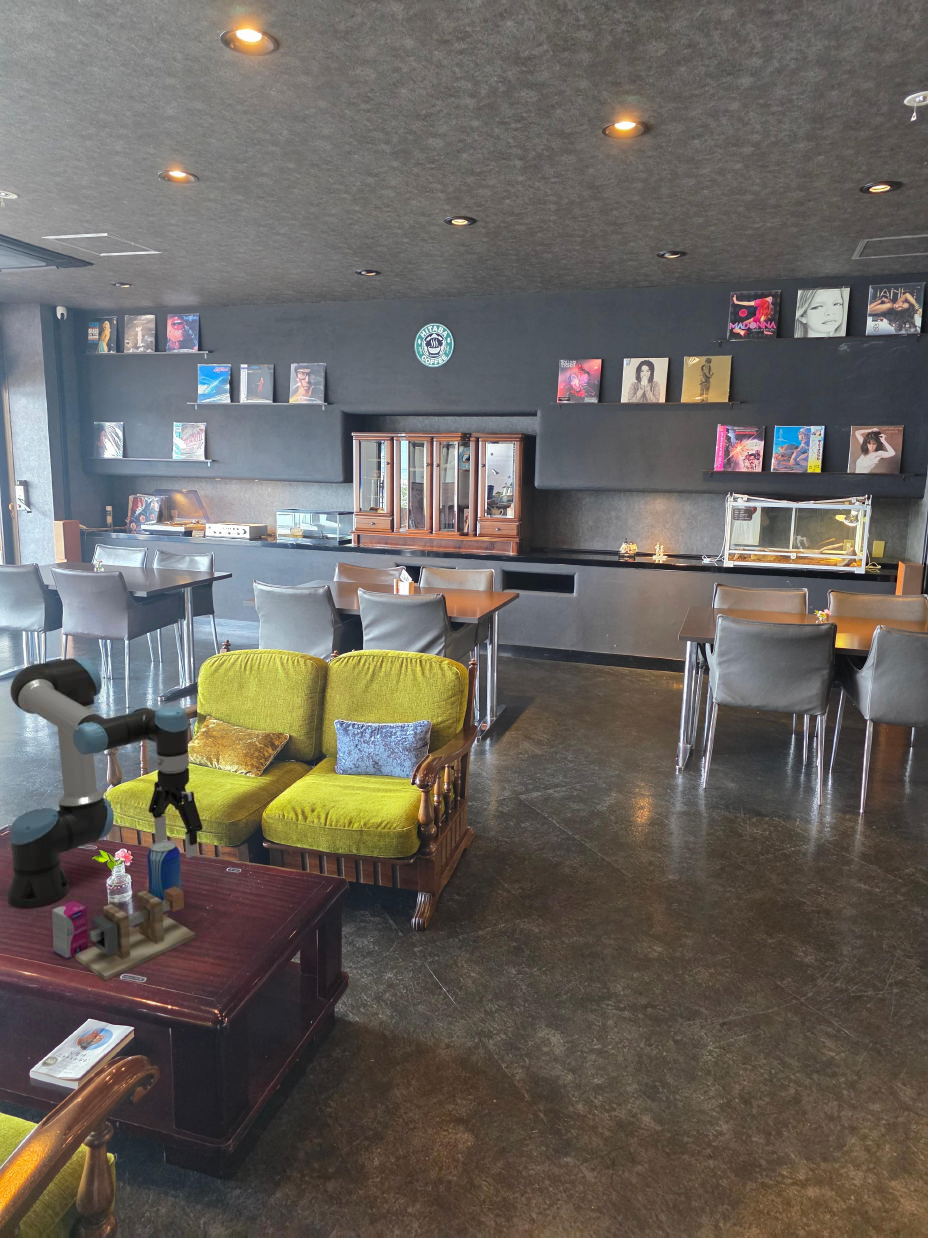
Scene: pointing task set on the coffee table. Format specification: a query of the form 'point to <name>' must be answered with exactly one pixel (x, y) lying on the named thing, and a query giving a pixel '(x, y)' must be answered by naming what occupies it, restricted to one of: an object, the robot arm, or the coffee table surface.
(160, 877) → the beer can
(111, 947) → the spacer
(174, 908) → the shaft
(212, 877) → the coffee table surface
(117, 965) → the bearing stand
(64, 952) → the supplement box
